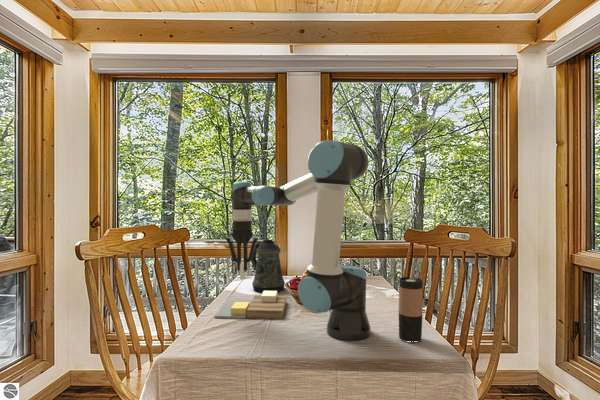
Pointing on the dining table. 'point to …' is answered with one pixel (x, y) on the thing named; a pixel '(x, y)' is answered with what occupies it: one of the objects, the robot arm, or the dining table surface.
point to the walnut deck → (266, 308)
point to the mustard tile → (239, 308)
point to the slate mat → (226, 309)
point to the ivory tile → (269, 296)
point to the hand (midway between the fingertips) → (242, 278)
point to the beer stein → (267, 267)
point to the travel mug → (410, 308)
